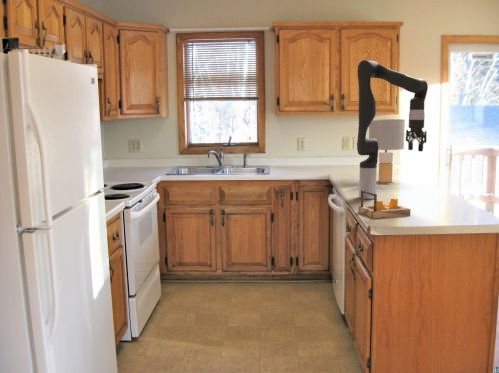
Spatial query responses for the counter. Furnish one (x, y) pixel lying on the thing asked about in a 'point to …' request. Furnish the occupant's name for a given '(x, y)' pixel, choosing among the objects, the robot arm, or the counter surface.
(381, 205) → the pipe clamp
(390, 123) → the lamp
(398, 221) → the counter surface
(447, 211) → the counter surface
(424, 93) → the robot arm
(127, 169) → the counter surface
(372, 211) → the wooden tray
